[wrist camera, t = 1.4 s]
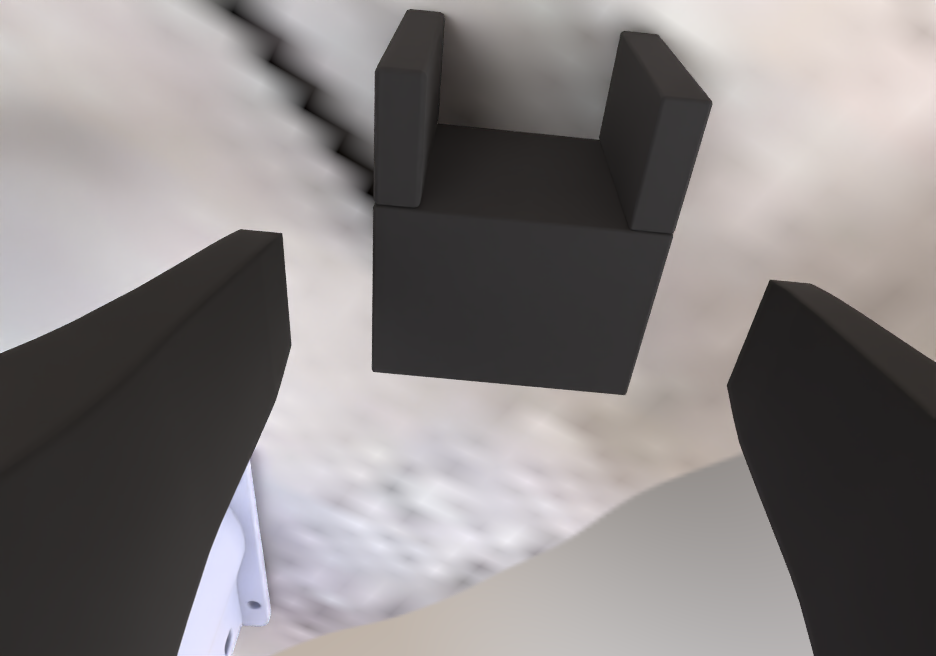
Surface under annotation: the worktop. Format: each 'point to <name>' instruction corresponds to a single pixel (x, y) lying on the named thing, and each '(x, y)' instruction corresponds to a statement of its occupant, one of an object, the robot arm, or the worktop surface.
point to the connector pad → (524, 223)
